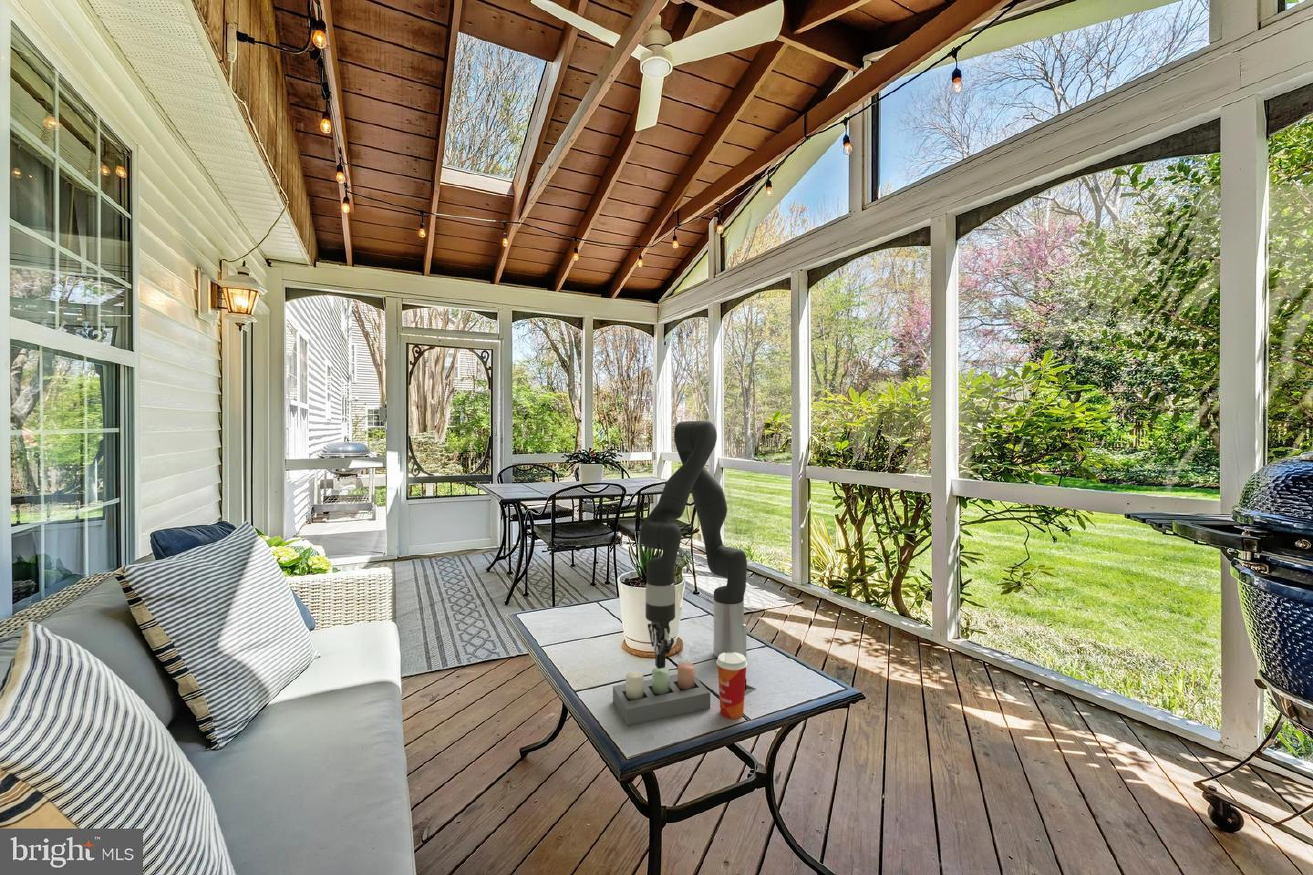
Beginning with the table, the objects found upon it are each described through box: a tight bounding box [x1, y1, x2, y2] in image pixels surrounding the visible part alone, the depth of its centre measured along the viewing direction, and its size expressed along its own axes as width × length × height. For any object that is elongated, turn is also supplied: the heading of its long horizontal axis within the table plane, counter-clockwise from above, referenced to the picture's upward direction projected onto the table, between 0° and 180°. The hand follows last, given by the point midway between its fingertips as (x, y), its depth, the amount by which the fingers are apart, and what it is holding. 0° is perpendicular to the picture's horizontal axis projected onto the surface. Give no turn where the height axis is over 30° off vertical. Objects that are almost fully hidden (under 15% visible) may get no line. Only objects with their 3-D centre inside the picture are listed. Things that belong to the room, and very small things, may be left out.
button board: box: [612, 673, 711, 727], centre depth 142 cm, size 22×12×4 cm, turn 111°
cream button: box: [625, 671, 644, 700], centre depth 139 cm, size 4×4×5 cm
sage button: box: [651, 667, 671, 695], centre depth 142 cm, size 4×4×5 cm
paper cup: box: [716, 652, 748, 720], centre depth 138 cm, size 8×8×14 cm
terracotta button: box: [677, 662, 696, 690], centre depth 144 cm, size 4×4×5 cm
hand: (660, 666), depth 142 cm, fingers closed
